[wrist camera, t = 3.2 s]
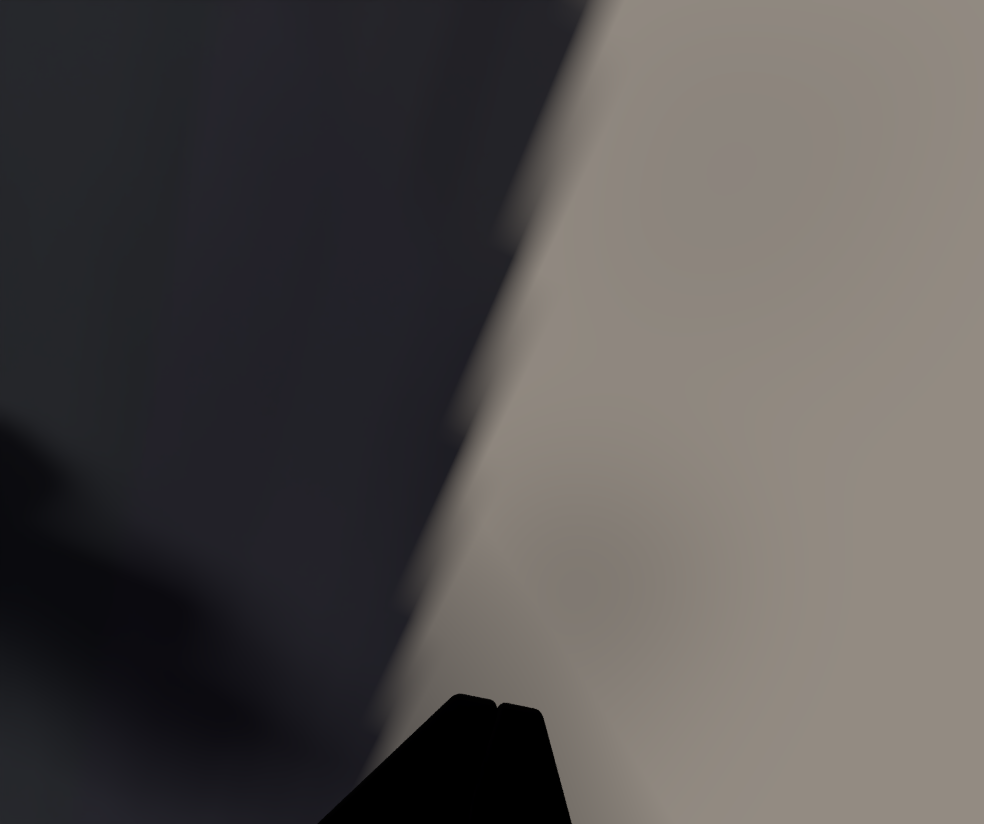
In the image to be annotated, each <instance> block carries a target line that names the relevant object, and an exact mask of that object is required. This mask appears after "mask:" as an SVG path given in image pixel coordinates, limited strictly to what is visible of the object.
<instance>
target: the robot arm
mask: <svg viewBox="0 0 984 824" xmlns="http://www.w3.org/2000/svg"><path fill="white" fill-rule="evenodd" d="M318 824H572V823H571V819H570V816H569V812H568V808H567V804H566V801H565V797H564V793H563V789H562V785H561V782H560V778H559V774H558V770H557V767H556V763H555V759H554V756H553V752H552V748H551V744H550V740H549V737H548V733H547V729H546V725H545V722H544V718H543V716H542V714H541V712H540V711H539V710H537V709H534V708H529V707H525V706H520V705H515V704H510V703H502V704H500V705H499V706H498V708H497V706H496V704H495V702H494V701H492V700H490V699H485V698H480V697H475V696H470V695H466V694H456V695H454V696H452V697H451V698H450V699H449V700H448V701H447V702H446V703H445V704H444V705H442V706H441V707H440V709H438V710H437V711H436V712H435V713H434V714H433V715H432V716H431V717H430V718H429V719H428V720H427V721H426V722H424V724H422V725H421V726H420V727H419V728H418V729H417V730H416V731H415V732H414V733H413V734H412V735H411V736H410V737H409V738H408V739H407V740H405V741H404V742H403V743H402V744H401V745H400V746H399V747H398V748H397V749H396V750H395V751H394V752H393V753H392V754H391V755H390V756H389V757H387V758H386V759H385V760H384V761H383V762H382V763H381V764H380V765H379V766H378V767H377V768H376V769H375V770H374V771H373V772H372V773H371V774H370V775H368V776H367V777H366V778H365V779H364V780H363V781H362V782H361V783H360V784H359V785H358V786H357V787H356V788H355V789H354V790H353V791H352V792H350V793H349V794H348V795H347V796H346V797H345V798H344V799H343V800H342V801H341V802H340V803H339V804H338V805H337V806H336V807H335V808H334V809H333V810H331V811H330V812H329V813H328V814H327V815H326V816H325V817H324V818H323V819H322V820H321V821H320V822H319V823H318Z"/></svg>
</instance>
